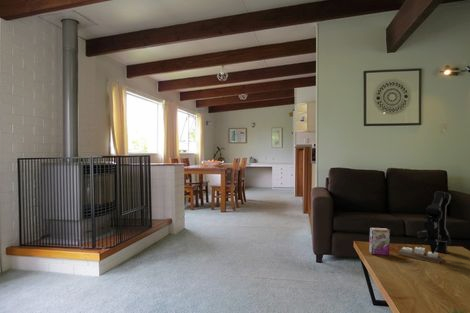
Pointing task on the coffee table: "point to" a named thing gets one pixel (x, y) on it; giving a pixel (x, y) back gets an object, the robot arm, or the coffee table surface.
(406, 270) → the coffee table surface
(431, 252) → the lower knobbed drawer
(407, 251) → the three pip tile
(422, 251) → the two pip tile
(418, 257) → the brown dotted block frame
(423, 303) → the coffee table surface
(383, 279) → the coffee table surface
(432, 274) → the coffee table surface
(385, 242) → the candy bar box
